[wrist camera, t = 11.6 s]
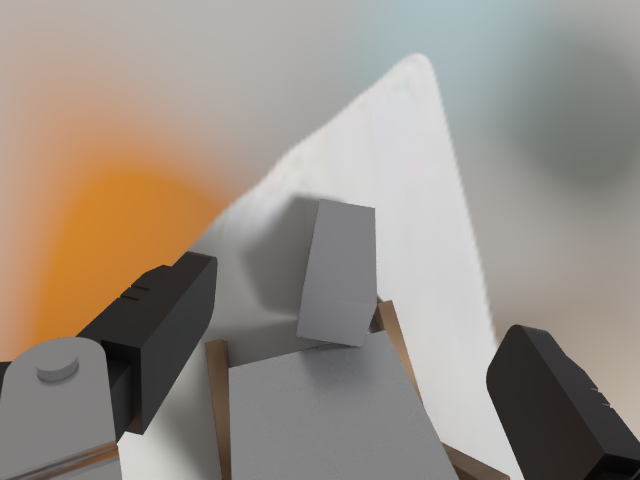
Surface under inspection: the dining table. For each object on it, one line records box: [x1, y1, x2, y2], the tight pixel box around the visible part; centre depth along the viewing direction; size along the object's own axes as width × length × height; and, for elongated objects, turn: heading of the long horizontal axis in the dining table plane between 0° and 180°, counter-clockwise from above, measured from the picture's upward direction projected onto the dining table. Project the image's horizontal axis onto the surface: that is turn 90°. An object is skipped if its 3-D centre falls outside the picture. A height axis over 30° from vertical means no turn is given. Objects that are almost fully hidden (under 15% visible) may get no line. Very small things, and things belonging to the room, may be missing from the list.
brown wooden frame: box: [205, 300, 510, 480], centre depth 21 cm, size 18×15×12 cm
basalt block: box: [296, 199, 377, 347], centre depth 27 cm, size 4×4×10 cm
